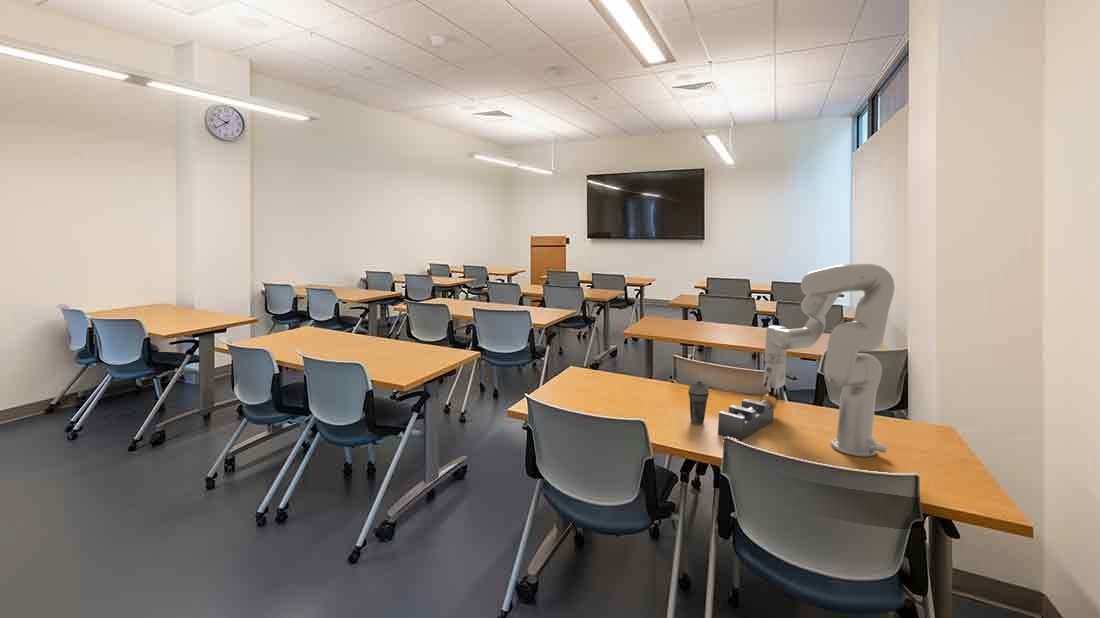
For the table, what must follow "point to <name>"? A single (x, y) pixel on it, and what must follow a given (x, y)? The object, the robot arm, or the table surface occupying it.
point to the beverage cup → (698, 401)
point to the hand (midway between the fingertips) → (772, 403)
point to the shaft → (764, 399)
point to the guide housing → (744, 419)
